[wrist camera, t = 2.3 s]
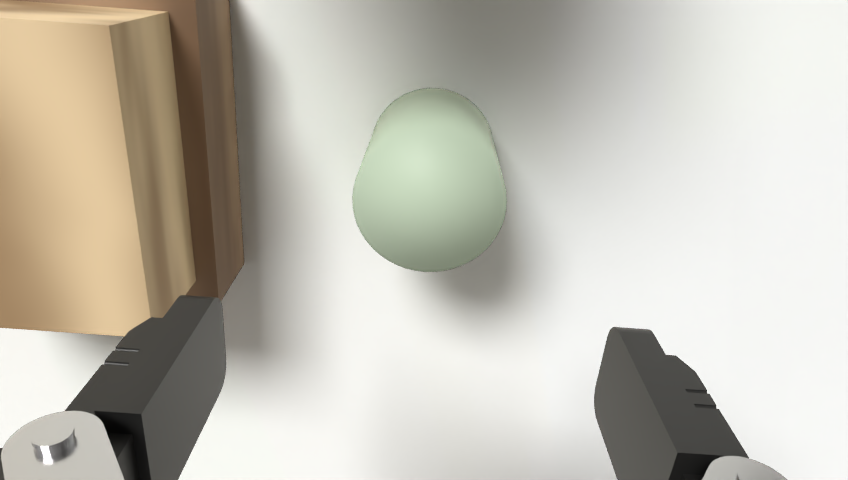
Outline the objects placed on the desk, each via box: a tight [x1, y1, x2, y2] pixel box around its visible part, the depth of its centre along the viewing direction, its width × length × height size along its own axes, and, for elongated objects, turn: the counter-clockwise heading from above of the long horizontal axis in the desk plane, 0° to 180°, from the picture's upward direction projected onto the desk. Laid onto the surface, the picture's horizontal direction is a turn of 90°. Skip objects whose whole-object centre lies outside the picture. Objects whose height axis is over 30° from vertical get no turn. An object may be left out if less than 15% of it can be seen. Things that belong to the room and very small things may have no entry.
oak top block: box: [0, 0, 196, 336], centre depth 20 cm, size 10×10×4 cm
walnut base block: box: [16, 0, 244, 301], centre depth 24 cm, size 12×12×4 cm
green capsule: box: [352, 88, 507, 272], centre depth 23 cm, size 5×5×6 cm
